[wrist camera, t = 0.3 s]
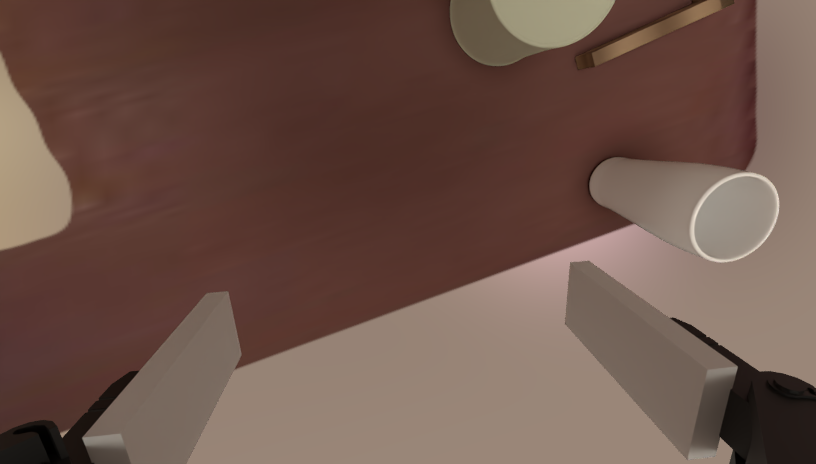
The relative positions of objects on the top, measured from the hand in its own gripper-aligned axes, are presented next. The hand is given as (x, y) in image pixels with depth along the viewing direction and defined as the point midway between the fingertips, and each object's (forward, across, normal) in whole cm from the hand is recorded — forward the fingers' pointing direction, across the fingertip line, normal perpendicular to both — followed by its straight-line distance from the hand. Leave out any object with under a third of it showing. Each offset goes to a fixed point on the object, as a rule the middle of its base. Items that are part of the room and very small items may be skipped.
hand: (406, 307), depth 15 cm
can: (+26, +12, +15) cm, 32 cm away
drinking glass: (+26, +24, -2) cm, 35 cm away
